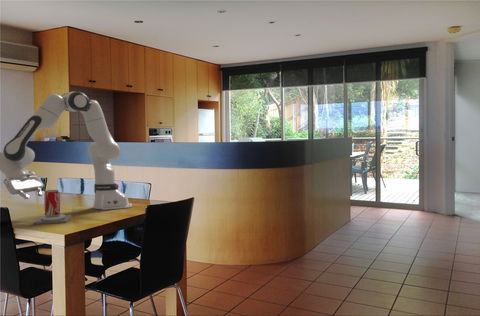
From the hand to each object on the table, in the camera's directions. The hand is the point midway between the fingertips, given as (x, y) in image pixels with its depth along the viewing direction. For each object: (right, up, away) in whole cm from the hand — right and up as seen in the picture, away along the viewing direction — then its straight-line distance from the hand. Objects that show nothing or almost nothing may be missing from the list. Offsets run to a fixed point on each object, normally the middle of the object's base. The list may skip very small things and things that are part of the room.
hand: (34, 197), depth 215 cm
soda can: (+10, -10, -2) cm, 14 cm away
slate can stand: (+10, -12, -2) cm, 16 cm away
